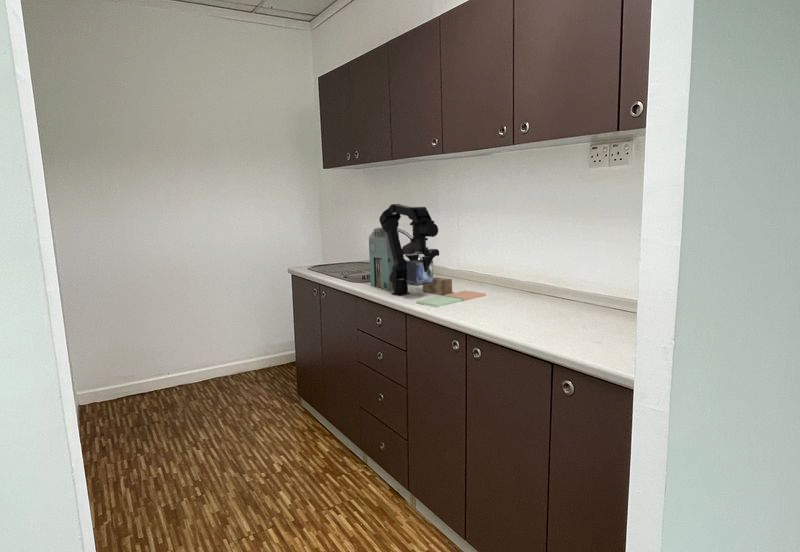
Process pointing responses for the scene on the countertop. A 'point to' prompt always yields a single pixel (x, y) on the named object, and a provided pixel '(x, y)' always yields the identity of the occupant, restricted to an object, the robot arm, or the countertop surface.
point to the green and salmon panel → (450, 298)
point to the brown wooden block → (439, 286)
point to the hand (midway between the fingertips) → (420, 271)
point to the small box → (419, 273)
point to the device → (380, 259)
